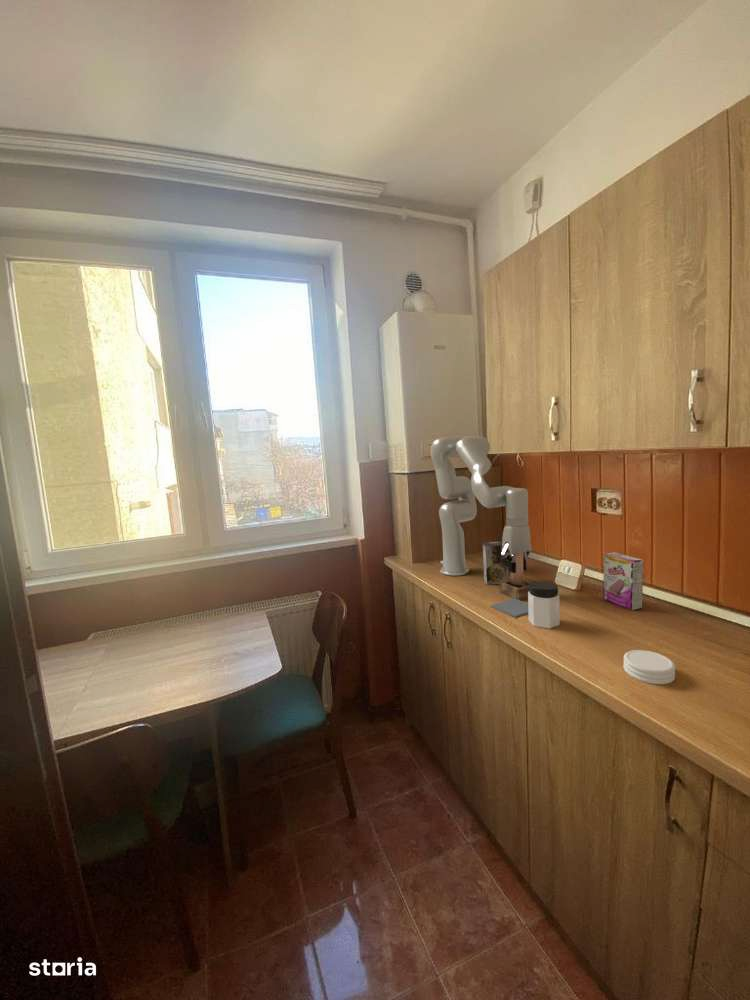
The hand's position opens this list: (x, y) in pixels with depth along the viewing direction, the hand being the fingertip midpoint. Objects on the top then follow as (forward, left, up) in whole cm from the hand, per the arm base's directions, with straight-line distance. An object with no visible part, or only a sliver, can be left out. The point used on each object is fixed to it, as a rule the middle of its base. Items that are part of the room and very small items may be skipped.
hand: (517, 570), depth 148 cm
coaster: (+55, -14, -9) cm, 57 cm away
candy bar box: (+27, +20, -9) cm, 34 cm away
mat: (+10, -11, -9) cm, 17 cm away
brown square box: (+1, 0, -9) cm, 9 cm away
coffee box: (-14, +3, -9) cm, 17 cm away
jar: (+23, -12, -9) cm, 27 cm away
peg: (0, 0, -5) cm, 5 cm away
